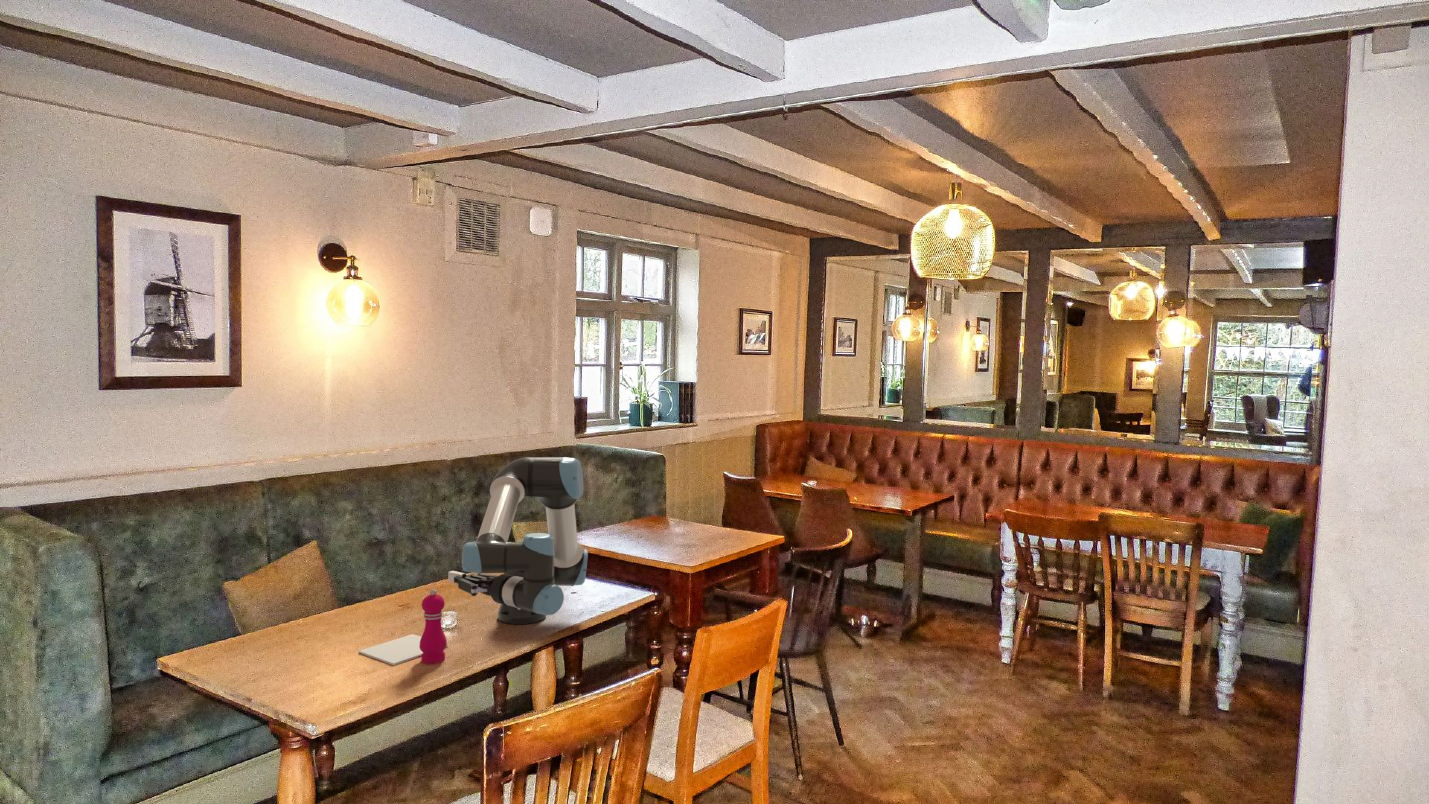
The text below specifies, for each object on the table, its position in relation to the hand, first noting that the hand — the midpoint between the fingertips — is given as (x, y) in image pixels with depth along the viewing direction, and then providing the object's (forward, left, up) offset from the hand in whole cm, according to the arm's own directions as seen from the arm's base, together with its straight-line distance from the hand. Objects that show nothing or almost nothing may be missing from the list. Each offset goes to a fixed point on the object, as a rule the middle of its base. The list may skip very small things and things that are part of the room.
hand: (450, 576), depth 231 cm
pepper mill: (+6, -5, -25) cm, 26 cm away
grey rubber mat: (+16, -14, -25) cm, 32 cm away
